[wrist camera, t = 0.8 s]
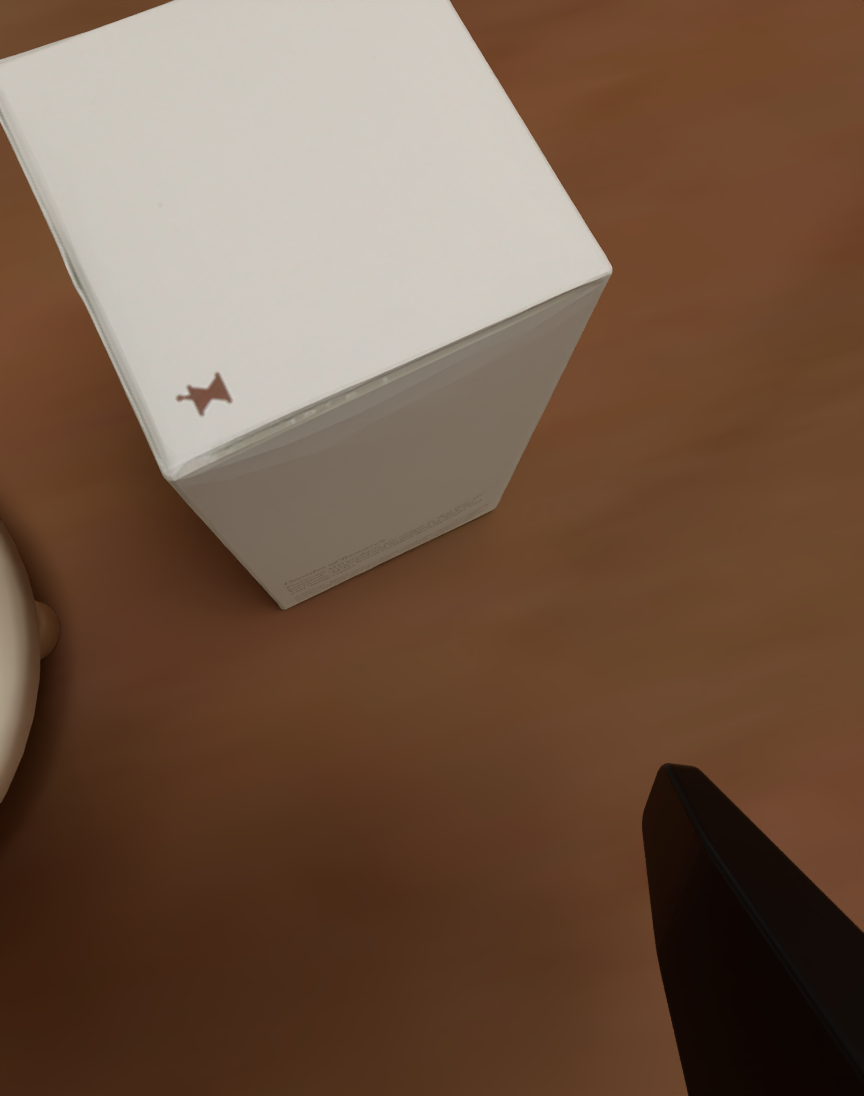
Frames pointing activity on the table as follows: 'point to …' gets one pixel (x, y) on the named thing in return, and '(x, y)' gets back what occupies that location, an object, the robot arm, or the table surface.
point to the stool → (19, 655)
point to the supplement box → (310, 264)
